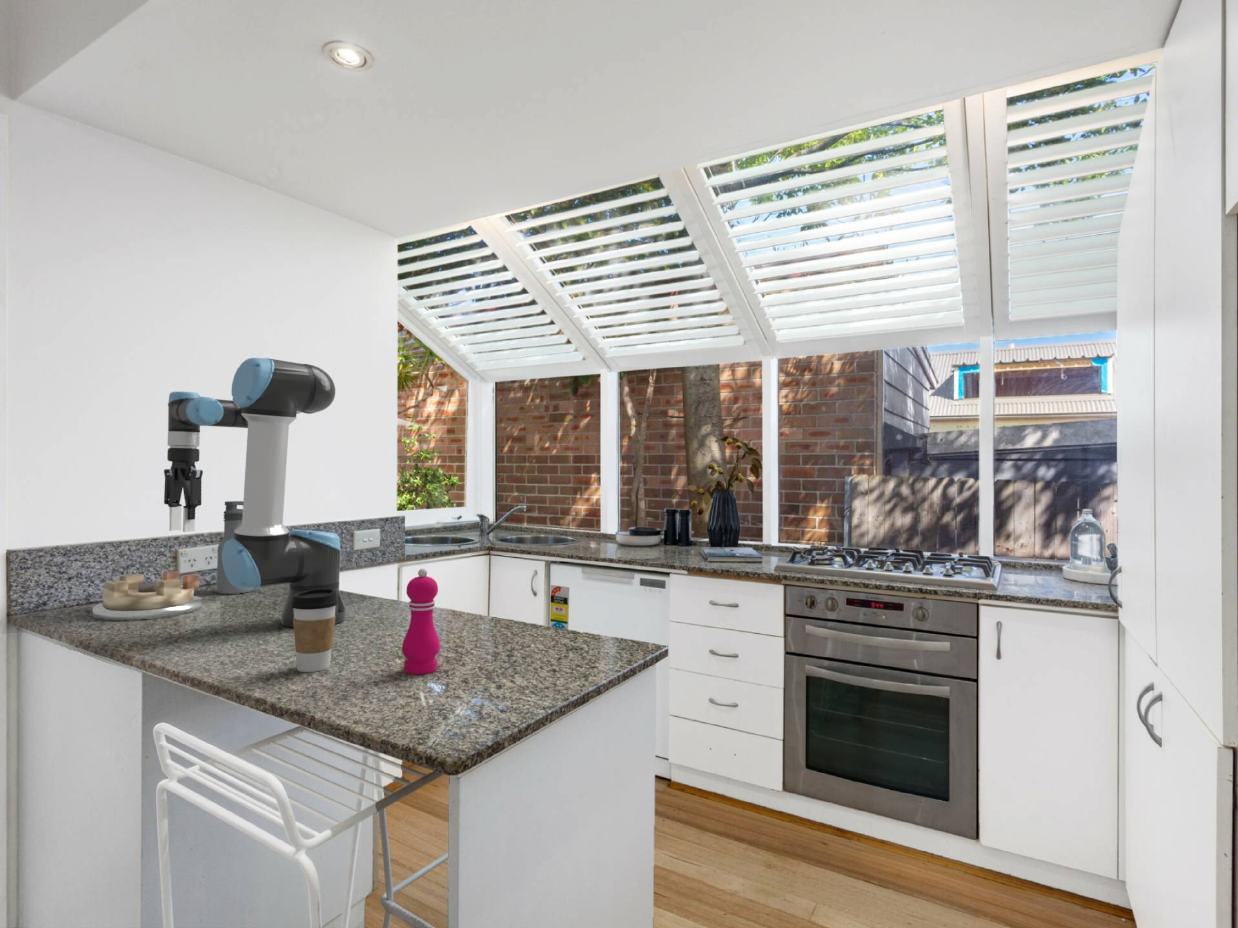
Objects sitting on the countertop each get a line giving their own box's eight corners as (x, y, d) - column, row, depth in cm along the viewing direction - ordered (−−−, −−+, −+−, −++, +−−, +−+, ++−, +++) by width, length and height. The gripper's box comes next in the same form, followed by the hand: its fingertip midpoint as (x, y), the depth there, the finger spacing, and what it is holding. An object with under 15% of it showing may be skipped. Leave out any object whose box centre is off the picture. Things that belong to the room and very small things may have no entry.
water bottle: (245, 587, 217) (246, 500, 217) (260, 591, 211) (262, 501, 211) (210, 592, 209) (212, 501, 209) (225, 596, 203) (227, 502, 203)
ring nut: (131, 612, 168) (132, 586, 169) (85, 604, 177) (86, 579, 177) (209, 599, 187) (210, 575, 187) (164, 592, 195) (165, 569, 195)
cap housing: (212, 611, 182) (212, 598, 182) (100, 625, 165) (100, 610, 165) (189, 598, 199) (190, 586, 199) (86, 609, 182) (86, 596, 182)
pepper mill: (419, 677, 129) (421, 572, 129) (393, 671, 133) (395, 568, 133) (447, 668, 135) (449, 567, 135) (422, 662, 139) (424, 564, 139)
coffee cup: (345, 666, 135) (347, 590, 135) (306, 676, 128) (308, 597, 128) (319, 659, 140) (321, 586, 140) (280, 669, 133) (282, 592, 133)
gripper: (218, 448, 189) (216, 531, 189) (176, 447, 197) (175, 528, 197) (191, 447, 182) (189, 533, 182) (149, 446, 190) (147, 529, 190)
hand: (181, 530), depth 189 cm, fingers open, 5 cm apart
